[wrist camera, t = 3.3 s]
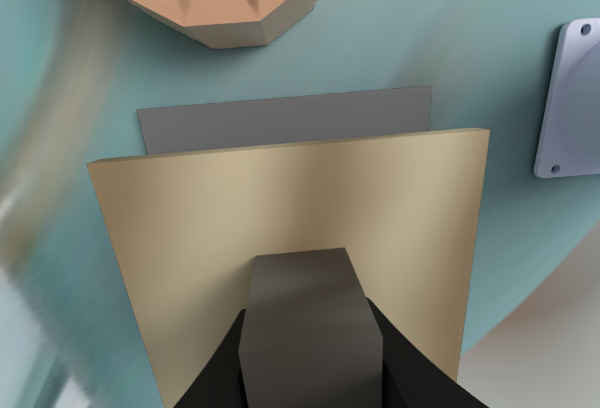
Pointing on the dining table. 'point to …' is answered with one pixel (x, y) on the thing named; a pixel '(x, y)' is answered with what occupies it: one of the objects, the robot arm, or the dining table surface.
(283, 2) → the bowl
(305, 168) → the lid
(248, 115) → the mat
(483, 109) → the dining table surface
